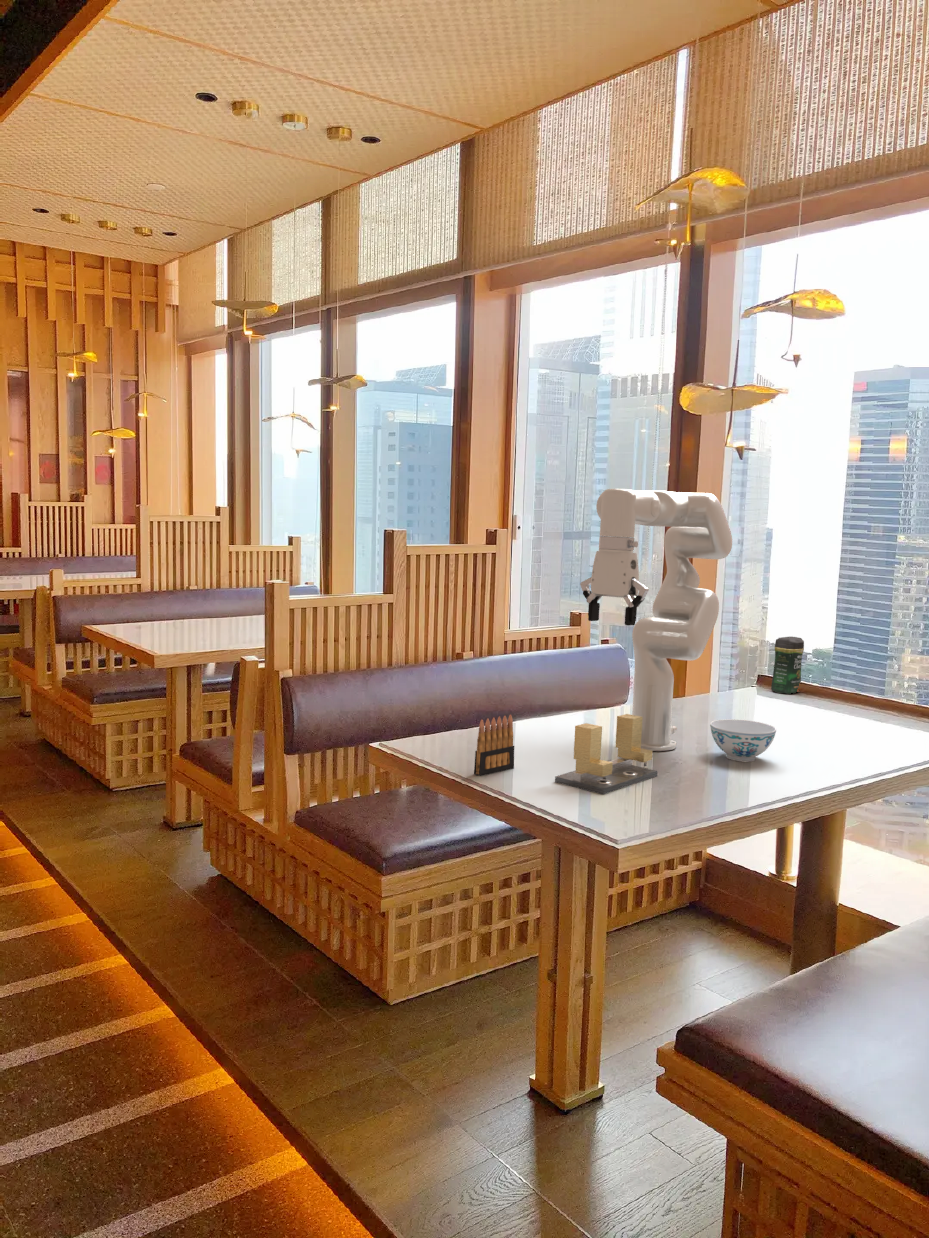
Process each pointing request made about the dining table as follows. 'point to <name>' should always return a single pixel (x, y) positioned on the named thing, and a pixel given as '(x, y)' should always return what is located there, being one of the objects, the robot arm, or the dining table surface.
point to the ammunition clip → (494, 747)
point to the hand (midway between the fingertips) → (611, 622)
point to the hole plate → (615, 780)
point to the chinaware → (742, 738)
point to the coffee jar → (787, 664)
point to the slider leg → (631, 739)
